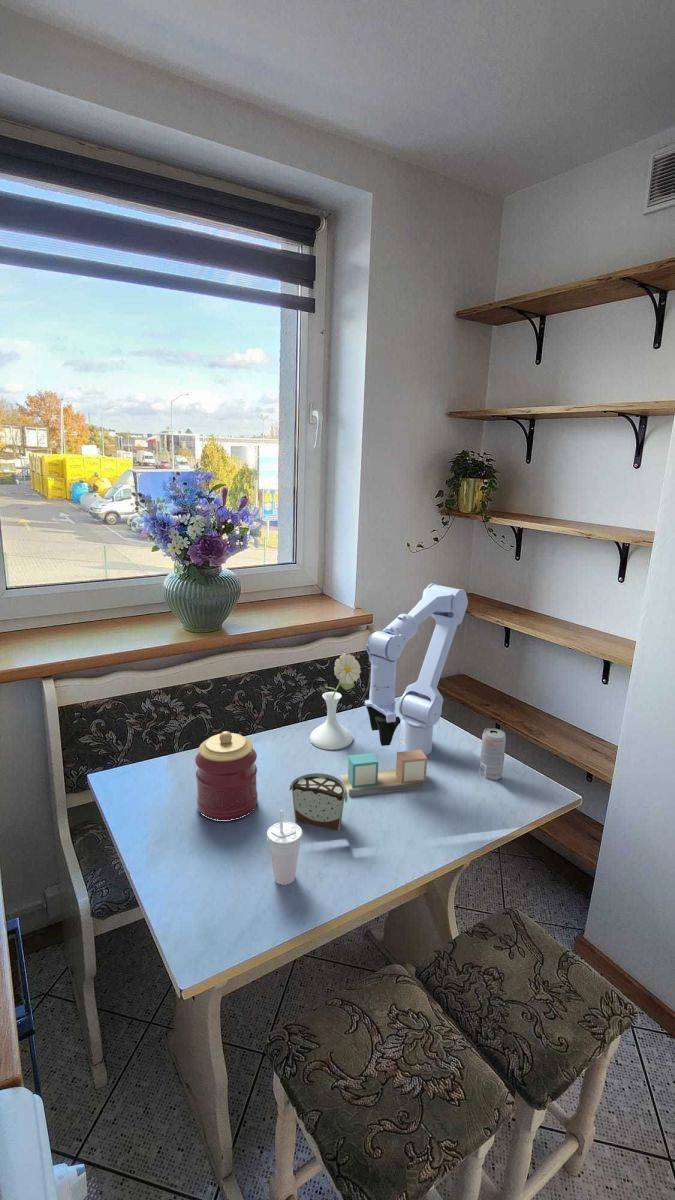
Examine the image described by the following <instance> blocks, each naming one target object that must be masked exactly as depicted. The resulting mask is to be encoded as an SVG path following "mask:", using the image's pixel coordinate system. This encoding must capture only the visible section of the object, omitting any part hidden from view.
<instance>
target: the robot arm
mask: <svg viewBox="0 0 675 1200" xmlns="http://www.w3.org/2000/svg"><path fill="white" fill-rule="evenodd" d="M468 603H469V601H468V595H467V592H466V591H465V589H462V588H455V587H449V586H444V585H440V584H436V583H429V584H428V585H427V586H426V588H424V589H423V591H422V598H421V599H420V600H419V601H418V602H417V604H416V605H414V607H412V609H411V610H410V611H409V612H408V613H400V614H399V615H398V616H397V617H396V618H395V619H393V620H392V621H391V622H390V623H389V624H388V625H387V626H385V628H383V629H382V630H377V631H375V632H373V633H371V634H370V636H369V637H368V639H367V641H366V642H367V643H366V645H365V649H366V652H367V654H368V661H369V663H370V683H369V687H370V688H369V690H368V691H369V692H368V693H369V695H368V696H369V698H368V699H367V700H364V702H363V703H364V705H365V707H366V710H367V714H368V717H369V723H370V728H371V730H372V731H373V732H374V731H378V734H379V742H380V746H383V747H384V746H385V747H387V746H390V745H391V743H392V740H393V737H394V734H395V732H396V729H397V728H398V726H399V725H400V732H399V733H400V735H399V741H400V743H401V744H402V747H403V751H413V750H422V752H423V753H424V754H425V756H428V755H430V754H431V753H432V749H433V735H434V734H433V733H434V726H435V725H436V724H437V723H438V722H439V720H440V718H441V715H442V711H443V709H442V708H443V703H444V699H445V698H443V696H442V694H441V693H440V691H439V689H438V685H439V681H440V678H441V675H442V672H443V669H444V666H445V664H446V660H447V658H448V655H449V652H450V649H451V646H452V642H453V639H454V637H455V634H456V630H457V627H458V625H460V624H462V622H463V619H464V617H465V614H466V612H467V608H468ZM429 617H431V618H432V619H434V620H435V627H434V630H433V633H432V635H431V639H430V642H429V645H428V648H427V651H426V654H425V657H424V660H423V662H422V666H421V669H420V672H419V674H418V677H417V680H416V681H415V682H413V683H411V684H409V685H407V686H406V688H405V690H404V692H403V694H402V695H401V696H400V698H399V700H398V705H397V707H398V713H399V714H400V715H401V716H402V719H401V718H400V716H397V713H396V700H395V699H396V677H397V660H398V659H399V658H400V657H401V655H402V652H403V650H404V648H405V646H406V643H408V642H409V640H411V638H413V637H414V636H415V635H416V634H417V633H418V631H419V626H418V625H420V624H422V623H423V622H424V621H425V620H426V619H427V618H429ZM421 695H422V696H421ZM424 696H425V697H424ZM427 697H428V698H427ZM429 698H430V699H429Z"/></svg>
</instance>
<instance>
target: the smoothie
mask: <svg viewBox="0 0 675 1200" xmlns="http://www.w3.org/2000/svg"><path fill="white" fill-rule="evenodd" d="M266 840H267V842H268V845H269V851H270V857H271V864H272V871H273V876H274V881H275V882H276V884H278V885H280V884H281V885H280V886H288V885H290V883H291V882H292V883H294V881H295V880H296V873H297V872H296V871H297V866H298V859H299V858H298V857H299V851H300V844H301V842H302V840H303V829H302V827H301V826H299V825H298V824H297V823H294V822H291V821H284V810H283V809H280V810H279V822H277V823H274V824H273V825H271V826H269V828H268V829H267V831H266ZM292 883H291V884H292ZM287 884H288V885H287Z"/></svg>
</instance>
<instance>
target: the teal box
mask: <svg viewBox="0 0 675 1200" xmlns="http://www.w3.org/2000/svg"><path fill="white" fill-rule="evenodd" d="M347 760H348V761H347V774H348V780H349V782H350V784H351V786H352V788H358V787H366V786H375V785H378V771H379V760H378V759H377V756H376V755H375V753H373V752H372V753H361V754H352V755H348V759H347Z"/></svg>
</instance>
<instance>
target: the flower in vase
mask: <svg viewBox="0 0 675 1200" xmlns="http://www.w3.org/2000/svg"><path fill="white" fill-rule="evenodd" d="M333 669H334V673H333V674H334V676H336V679H337V680H338V681H339V682H338V685H337V686H336V688H335V687H330V686H327V685H326V684H324V685H323V686H324V688H325V689H330V690H333V691H328V692H324V693H323V694H322V698H323V700H324V701H325V703H326V709H327V712H326V713H327V717H326V721H324V723H322V724H321V725H318V727H316V728H314V730H312V731H311V733H310V735H309V741H310V743H311V744H312V745H313V746H315V747H316V748H318V749H321V750H322V749H323V750H326V751H337V750H341V749H344V748H347V747H349V746H350V745H351V743H352V742H353V739H354V738H353V735H352V733H351V732H350V730H348V728H346V727H345V726H343V725H342V724H340V723H339V722H338V719H337V708H338V703H339V701H340V700H341V698H342V694H341V693H340V692H337V691H338V689H339V687H341V688H342V689H344V690H346V691H347V690H351V689H353V688H354V687H355V686H356V684H355V683H354V682H357V681H358V679H360V677H361V676H360V674H361V673H362V670H361V665H360V662H359V661H358V660H357V659H356V657H355V656H354V655H352V654H350V653H348V654H345V653H343V654H342V655H340V656H339V658H337V659H336V660H335V662H334V667H333Z"/></svg>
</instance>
